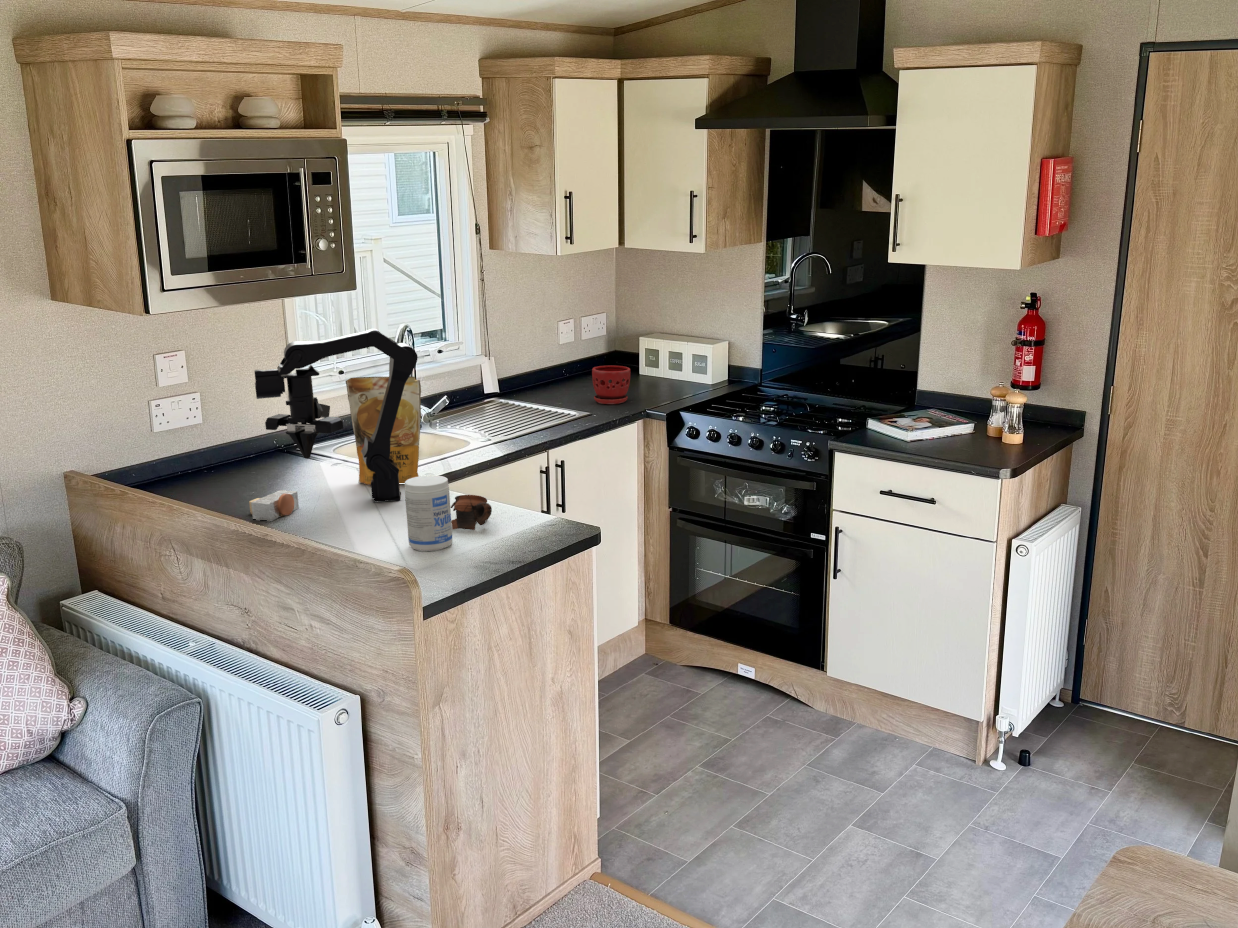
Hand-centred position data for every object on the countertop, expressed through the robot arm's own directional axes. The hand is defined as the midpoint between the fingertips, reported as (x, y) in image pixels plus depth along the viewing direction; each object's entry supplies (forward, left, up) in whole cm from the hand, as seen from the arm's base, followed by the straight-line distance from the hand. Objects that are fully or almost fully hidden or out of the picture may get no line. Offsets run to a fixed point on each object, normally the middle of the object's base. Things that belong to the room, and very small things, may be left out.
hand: (307, 458), depth 277 cm
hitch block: (+8, +4, -12) cm, 15 cm away
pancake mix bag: (-18, -19, -13) cm, 29 cm away
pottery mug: (-38, +24, -13) cm, 47 cm away
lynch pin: (+9, +3, -13) cm, 16 cm away
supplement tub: (-29, +37, -13) cm, 49 cm away
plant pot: (-90, -105, -13) cm, 139 cm away
